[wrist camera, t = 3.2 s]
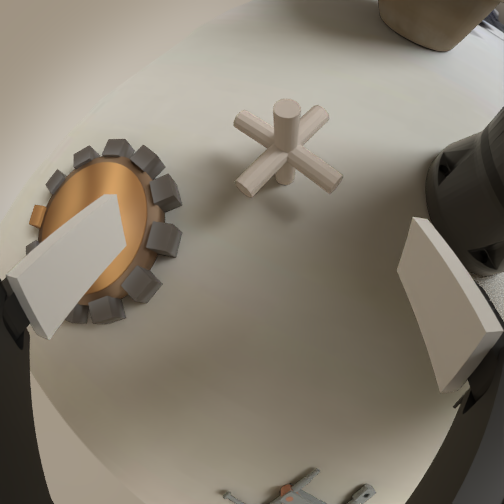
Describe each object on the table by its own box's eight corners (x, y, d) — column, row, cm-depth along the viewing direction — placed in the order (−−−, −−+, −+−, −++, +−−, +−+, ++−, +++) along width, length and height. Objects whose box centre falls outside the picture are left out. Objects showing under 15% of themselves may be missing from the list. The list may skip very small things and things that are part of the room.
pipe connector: (212, 182, 27) (182, 119, 18) (278, 120, 28) (275, 49, 19) (292, 248, 25) (300, 205, 15) (355, 173, 26) (385, 109, 17)
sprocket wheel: (162, 125, 30) (155, 112, 27) (207, 290, 25) (199, 287, 23) (38, 192, 30) (26, 185, 27) (52, 340, 25) (38, 341, 23)
